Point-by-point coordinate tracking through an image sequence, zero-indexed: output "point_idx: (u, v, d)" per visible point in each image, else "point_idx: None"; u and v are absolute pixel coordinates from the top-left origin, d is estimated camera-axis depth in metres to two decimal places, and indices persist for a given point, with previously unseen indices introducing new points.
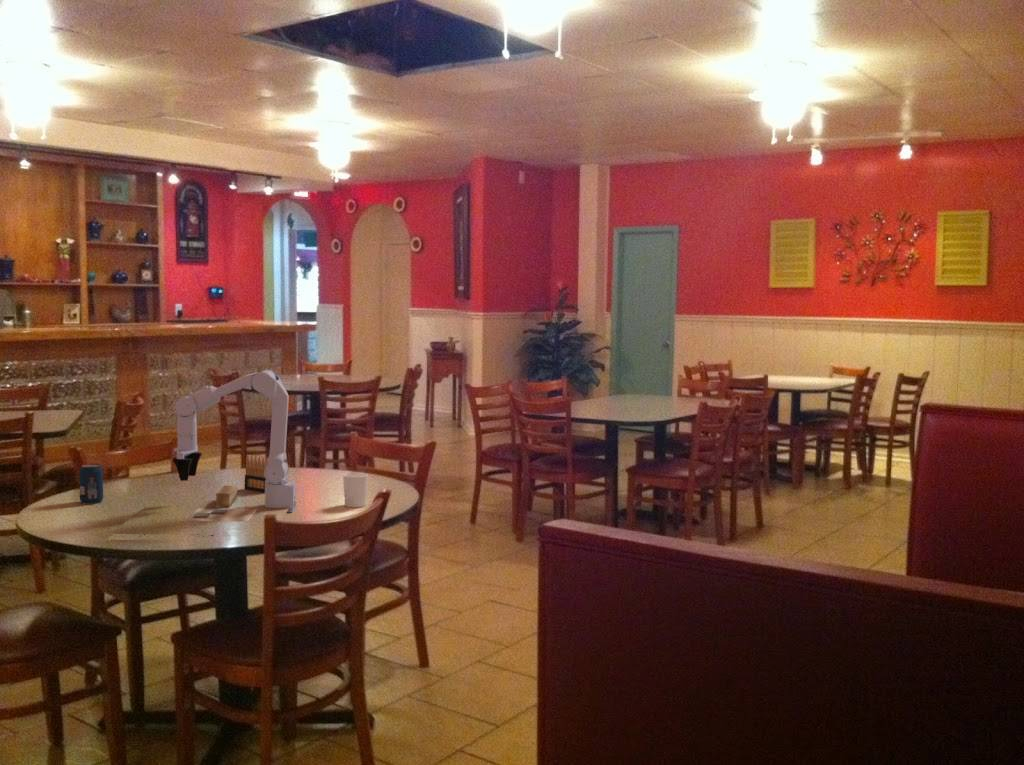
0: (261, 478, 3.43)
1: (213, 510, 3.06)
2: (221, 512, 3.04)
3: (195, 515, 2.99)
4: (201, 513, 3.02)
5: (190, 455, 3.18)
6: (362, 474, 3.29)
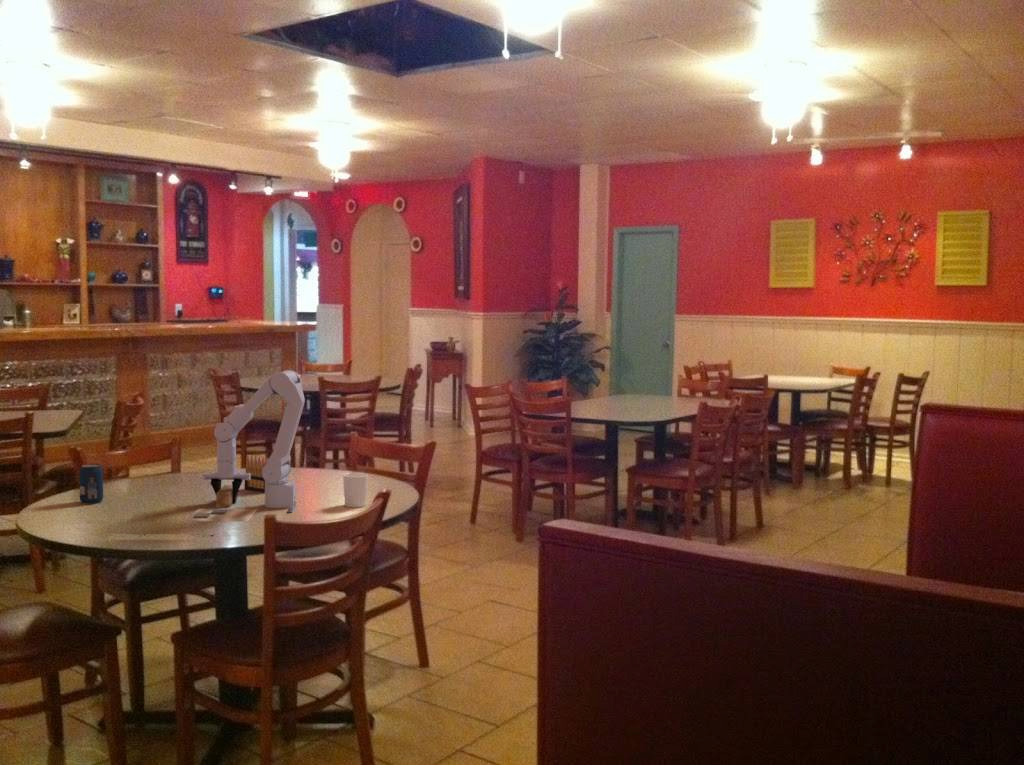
0: (261, 478, 3.43)
1: (213, 510, 3.06)
2: (221, 512, 3.04)
3: (195, 515, 2.99)
4: (201, 513, 3.02)
5: None
6: (362, 474, 3.28)
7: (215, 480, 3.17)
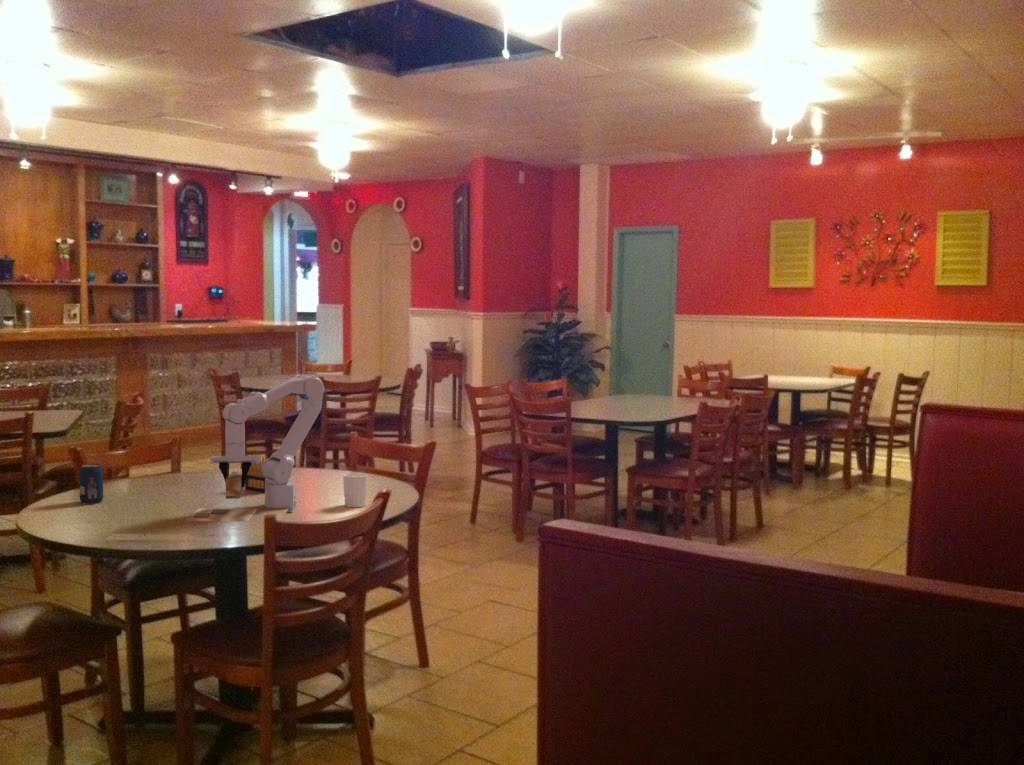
0: (261, 478, 3.43)
1: (213, 510, 3.06)
2: (221, 512, 3.04)
3: (195, 515, 2.99)
4: (201, 513, 3.02)
5: None
6: (362, 474, 3.29)
7: (223, 464, 3.07)
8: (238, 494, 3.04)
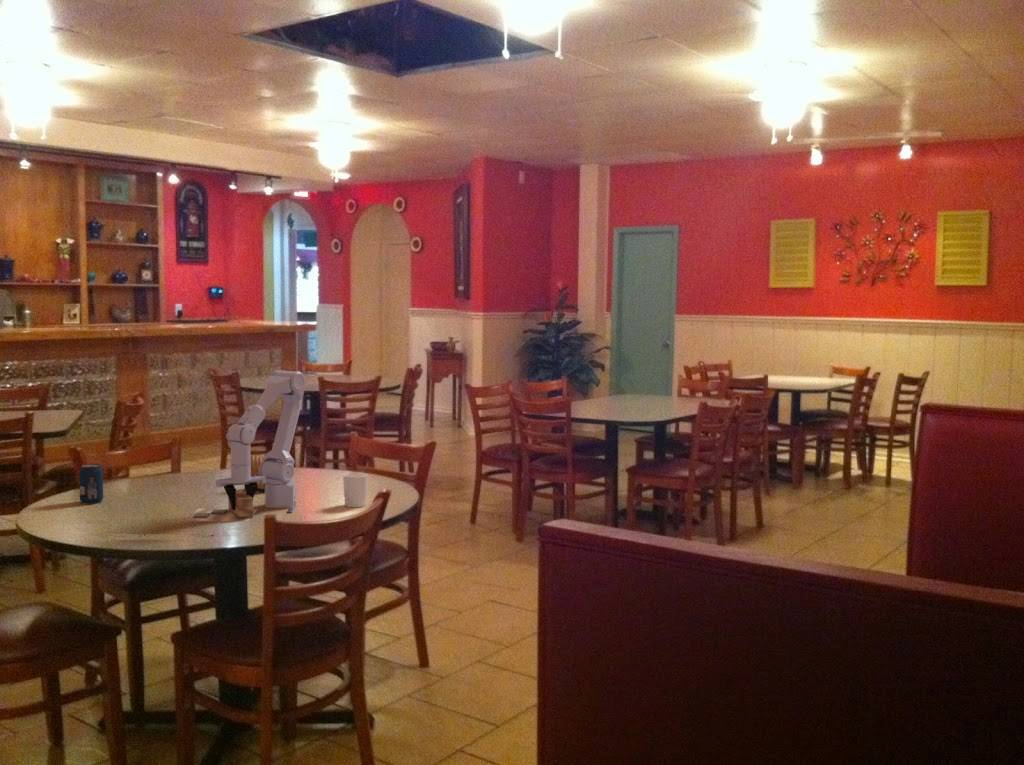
0: None
1: (213, 510, 3.06)
2: (221, 512, 3.04)
3: (195, 515, 2.99)
4: (201, 513, 3.02)
5: (247, 486, 3.04)
6: (362, 474, 3.28)
7: (230, 486, 3.00)
8: (251, 513, 3.00)
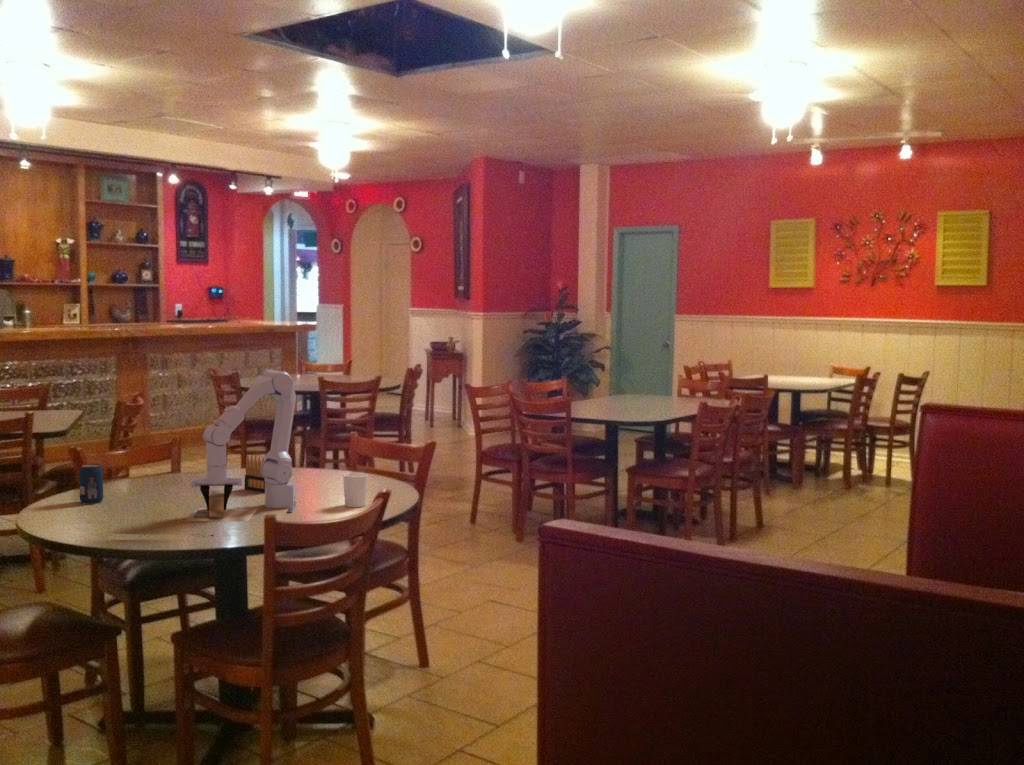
0: (261, 478, 3.43)
1: (197, 510, 3.05)
2: (207, 512, 3.04)
3: (195, 515, 2.99)
4: (201, 513, 3.02)
5: None
6: (362, 474, 3.29)
7: (205, 487, 3.01)
8: (222, 514, 2.98)
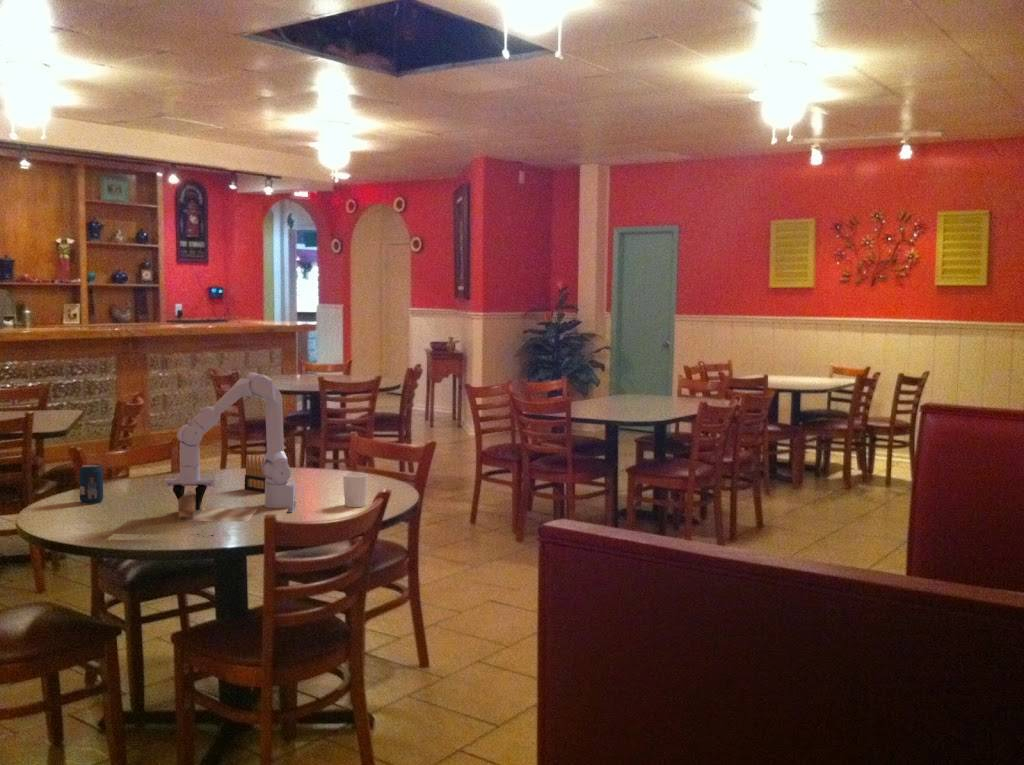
0: (261, 478, 3.43)
1: None
2: None
3: None
4: None
5: None
6: (362, 474, 3.28)
7: (178, 486, 3.01)
8: (191, 514, 2.97)
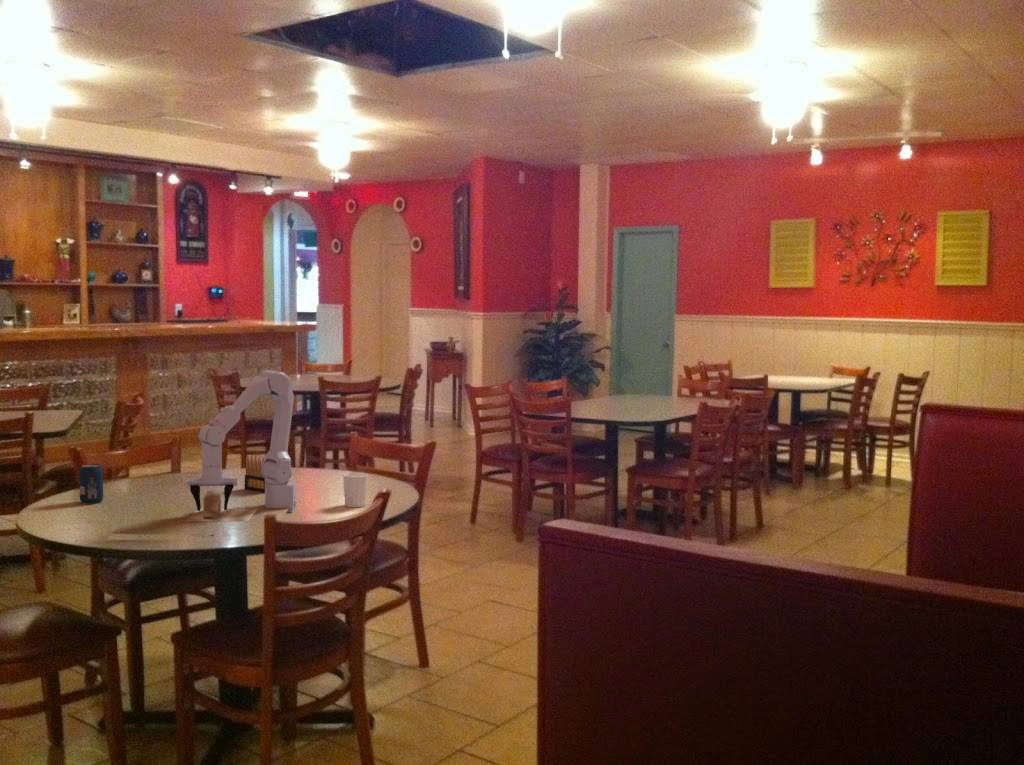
0: (261, 478, 3.43)
1: None
2: None
3: None
4: None
5: None
6: (362, 474, 3.28)
7: (195, 487, 3.01)
8: (216, 514, 2.98)
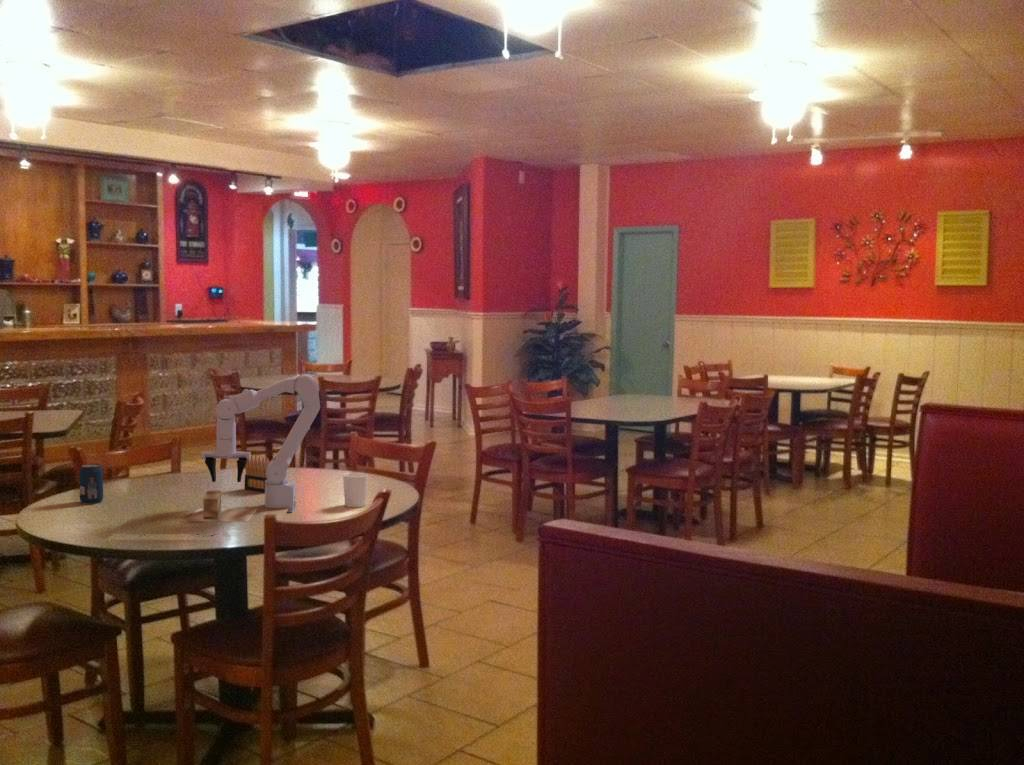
0: (261, 478, 3.43)
1: None
2: None
3: None
4: None
5: None
6: (362, 474, 3.28)
7: (210, 459, 3.12)
8: (216, 514, 2.98)
